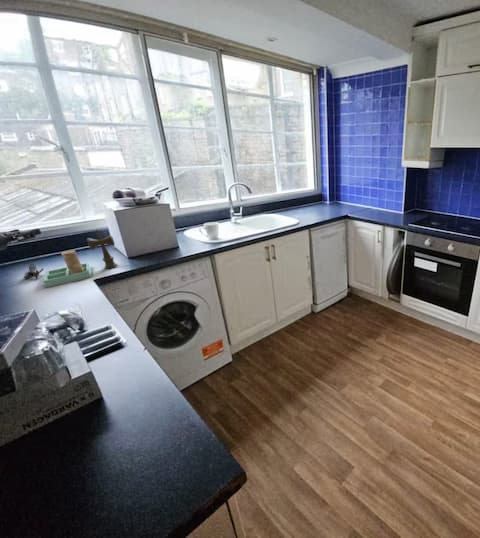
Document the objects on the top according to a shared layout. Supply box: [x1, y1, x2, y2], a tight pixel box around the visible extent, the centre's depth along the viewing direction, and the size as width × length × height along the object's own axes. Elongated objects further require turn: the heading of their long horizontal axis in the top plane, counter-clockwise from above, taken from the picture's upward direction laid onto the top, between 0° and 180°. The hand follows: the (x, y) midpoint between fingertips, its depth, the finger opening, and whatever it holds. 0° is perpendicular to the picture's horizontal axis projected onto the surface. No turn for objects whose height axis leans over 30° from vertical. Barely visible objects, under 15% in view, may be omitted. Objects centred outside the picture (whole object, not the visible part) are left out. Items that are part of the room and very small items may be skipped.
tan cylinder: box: [60, 250, 84, 274], centre depth 138 cm, size 5×5×12 cm
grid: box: [42, 262, 92, 288], centre depth 140 cm, size 15×15×3 cm
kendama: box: [86, 229, 118, 269], centre depth 147 cm, size 6×10×20 cm, turn 127°
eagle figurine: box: [23, 262, 44, 280], centre depth 140 cm, size 8×7×9 cm
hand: (29, 231), depth 120 cm, fingers open, 8 cm apart
